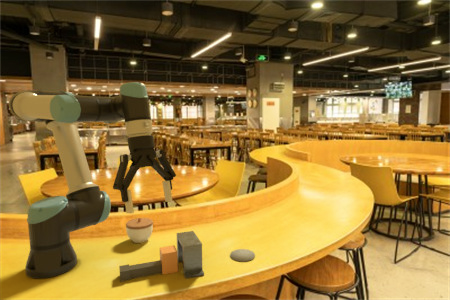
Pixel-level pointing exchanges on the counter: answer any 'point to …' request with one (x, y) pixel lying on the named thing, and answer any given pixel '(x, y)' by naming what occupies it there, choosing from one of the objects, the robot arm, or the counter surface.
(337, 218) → the counter surface
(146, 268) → the plug
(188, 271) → the housing
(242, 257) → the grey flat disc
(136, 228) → the lidded jar
